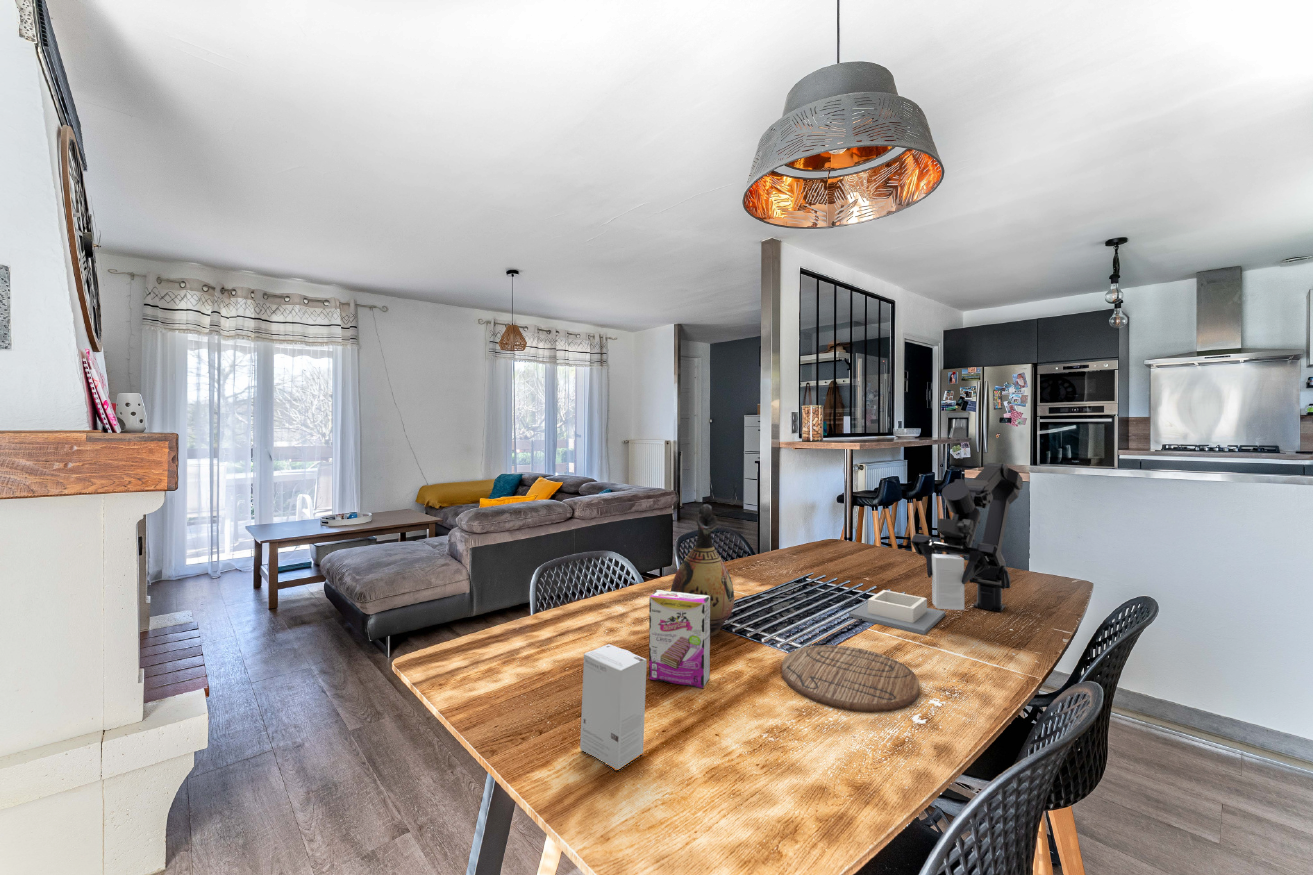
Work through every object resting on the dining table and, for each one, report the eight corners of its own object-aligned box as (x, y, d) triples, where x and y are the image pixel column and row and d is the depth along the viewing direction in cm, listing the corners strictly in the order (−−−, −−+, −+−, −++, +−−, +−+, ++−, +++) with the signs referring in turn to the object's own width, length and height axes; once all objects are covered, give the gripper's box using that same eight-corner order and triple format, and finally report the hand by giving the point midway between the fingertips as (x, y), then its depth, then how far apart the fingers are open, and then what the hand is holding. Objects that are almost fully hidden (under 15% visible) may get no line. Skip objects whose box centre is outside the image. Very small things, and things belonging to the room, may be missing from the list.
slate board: (875, 600, 153) (875, 597, 153) (945, 615, 141) (945, 611, 141) (849, 616, 140) (849, 613, 140) (924, 634, 128) (924, 630, 128)
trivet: (910, 729, 88) (910, 718, 88) (763, 690, 101) (763, 680, 101) (925, 671, 110) (925, 661, 110) (802, 645, 123) (802, 636, 123)
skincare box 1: (579, 751, 82) (579, 653, 82) (608, 734, 86) (607, 641, 86) (619, 774, 76) (619, 669, 76) (647, 754, 81) (647, 655, 81)
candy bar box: (647, 680, 105) (647, 596, 104) (656, 669, 109) (656, 588, 109) (704, 689, 101) (704, 602, 101) (710, 678, 106) (710, 594, 105)
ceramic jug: (738, 643, 123) (738, 510, 123) (670, 642, 123) (670, 510, 123) (729, 617, 140) (729, 500, 140) (669, 616, 140) (669, 500, 140)
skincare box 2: (959, 604, 129) (959, 554, 129) (964, 610, 125) (965, 558, 125) (931, 603, 130) (931, 553, 130) (935, 608, 126) (936, 557, 126)
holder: (883, 602, 148) (883, 589, 148) (926, 611, 141) (926, 598, 141) (867, 612, 140) (868, 599, 140) (913, 623, 133) (913, 608, 133)
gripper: (914, 501, 137) (894, 552, 129) (998, 510, 123) (981, 567, 116) (927, 528, 142) (908, 579, 135) (1009, 539, 128) (993, 596, 121)
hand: (945, 579), depth 126 cm, fingers closed on skincare box 2, 7 cm apart
